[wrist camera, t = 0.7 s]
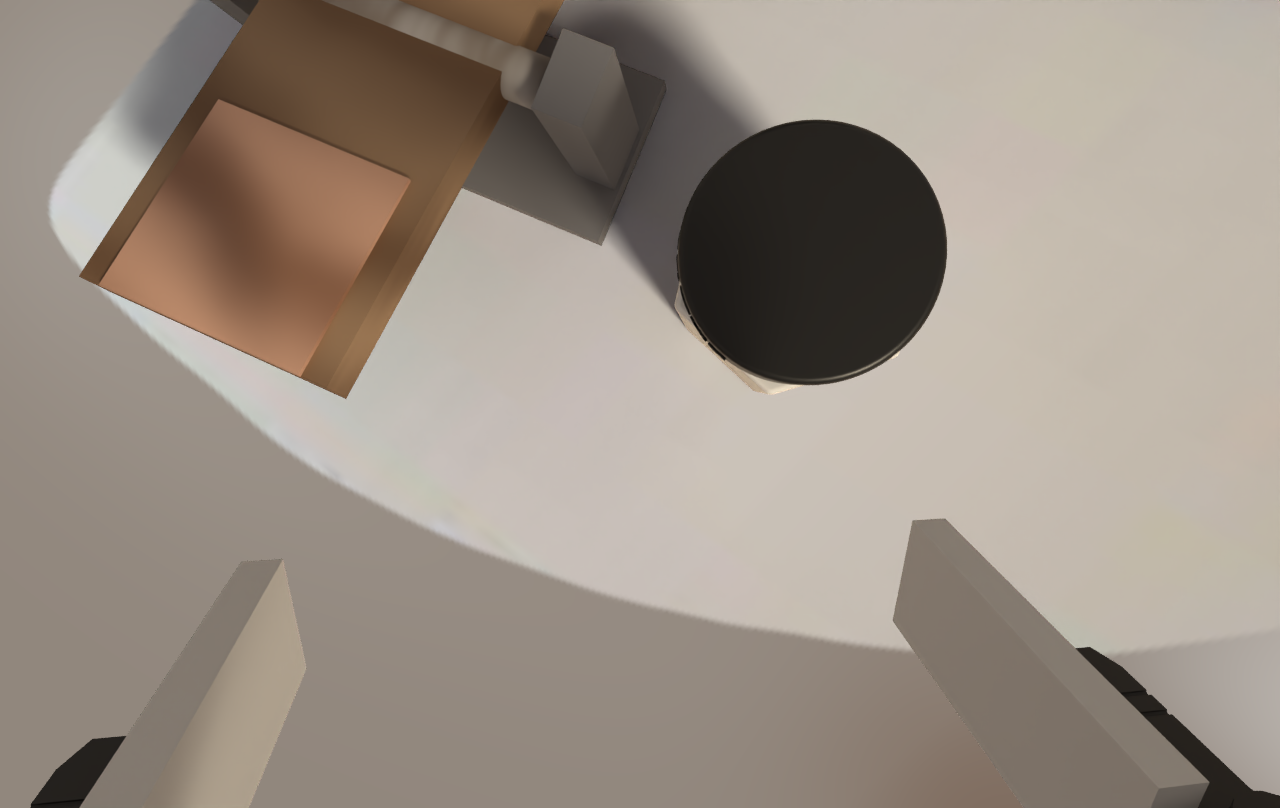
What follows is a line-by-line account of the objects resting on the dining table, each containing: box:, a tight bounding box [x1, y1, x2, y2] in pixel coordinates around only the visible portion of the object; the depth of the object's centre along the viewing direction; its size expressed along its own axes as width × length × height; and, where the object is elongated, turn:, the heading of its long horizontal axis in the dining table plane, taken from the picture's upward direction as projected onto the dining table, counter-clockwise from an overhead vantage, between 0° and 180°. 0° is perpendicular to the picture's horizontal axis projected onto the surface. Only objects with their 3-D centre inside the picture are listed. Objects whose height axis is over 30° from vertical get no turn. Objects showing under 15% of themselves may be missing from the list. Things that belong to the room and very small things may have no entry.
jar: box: [675, 120, 947, 395], centre depth 27 cm, size 9×8×12 cm
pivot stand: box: [210, 0, 666, 245], centre depth 30 cm, size 8×18×9 cm, turn 67°
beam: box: [79, 0, 564, 399], centre depth 27 cm, size 28×13×4 cm, turn 156°
